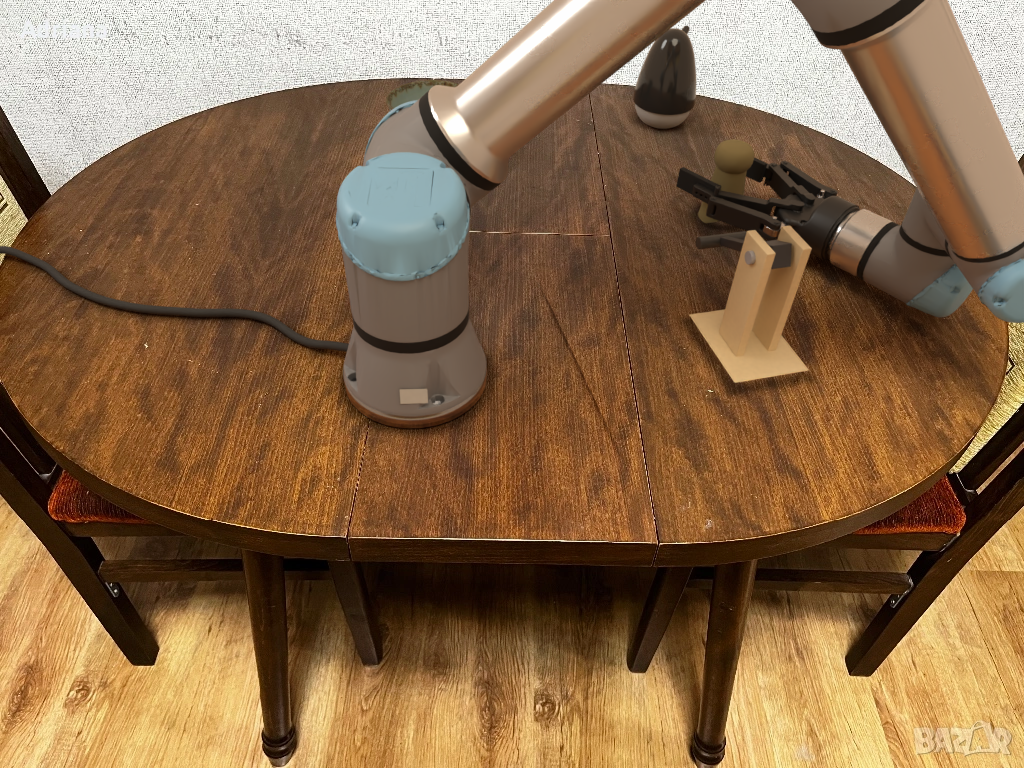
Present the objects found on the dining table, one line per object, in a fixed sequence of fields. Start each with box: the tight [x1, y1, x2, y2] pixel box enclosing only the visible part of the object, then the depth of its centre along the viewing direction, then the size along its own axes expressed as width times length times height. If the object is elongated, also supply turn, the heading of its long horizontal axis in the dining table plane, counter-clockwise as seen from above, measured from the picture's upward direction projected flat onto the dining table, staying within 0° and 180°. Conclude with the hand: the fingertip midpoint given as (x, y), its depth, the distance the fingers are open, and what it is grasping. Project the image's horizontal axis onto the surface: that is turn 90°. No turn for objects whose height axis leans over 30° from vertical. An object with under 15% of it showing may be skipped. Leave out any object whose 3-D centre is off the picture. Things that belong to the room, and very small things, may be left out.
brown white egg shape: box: [632, 25, 697, 130], centre depth 125 cm, size 10×10×15 cm
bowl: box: [385, 79, 460, 112], centre depth 119 cm, size 14×13×8 cm
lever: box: [695, 230, 792, 269], centre depth 84 cm, size 13×6×2 cm, turn 15°
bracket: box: [688, 226, 812, 384], centre depth 83 cm, size 12×9×15 cm
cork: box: [697, 138, 756, 224], centre depth 105 cm, size 6×6×11 cm
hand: (703, 165), depth 107 cm, fingers open, 9 cm apart
